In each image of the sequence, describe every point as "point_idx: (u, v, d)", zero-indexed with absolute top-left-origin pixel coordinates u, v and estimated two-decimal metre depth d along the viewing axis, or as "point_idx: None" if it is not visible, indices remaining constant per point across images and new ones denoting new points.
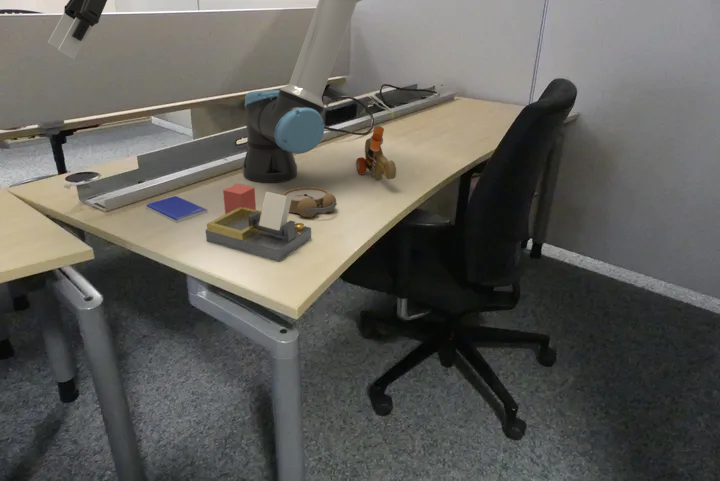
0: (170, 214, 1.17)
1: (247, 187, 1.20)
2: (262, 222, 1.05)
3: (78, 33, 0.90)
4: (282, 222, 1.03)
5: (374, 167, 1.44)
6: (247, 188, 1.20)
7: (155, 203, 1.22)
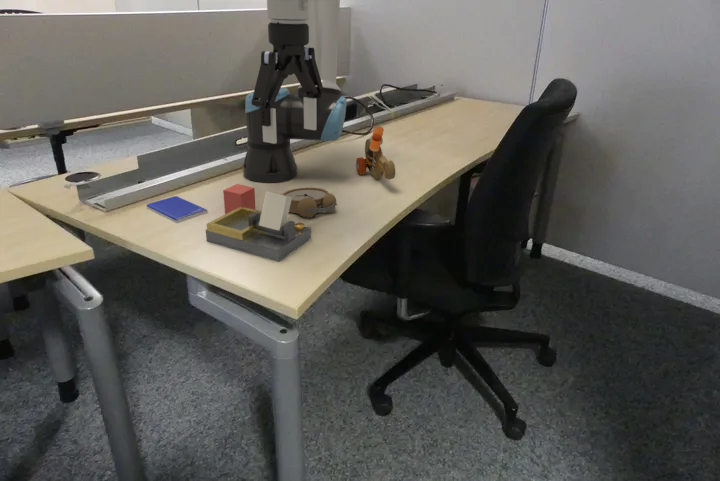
0: (170, 214, 1.17)
1: (247, 187, 1.20)
2: (262, 222, 1.05)
3: None
4: (282, 222, 1.03)
5: (374, 167, 1.44)
6: (247, 188, 1.20)
7: (155, 203, 1.22)
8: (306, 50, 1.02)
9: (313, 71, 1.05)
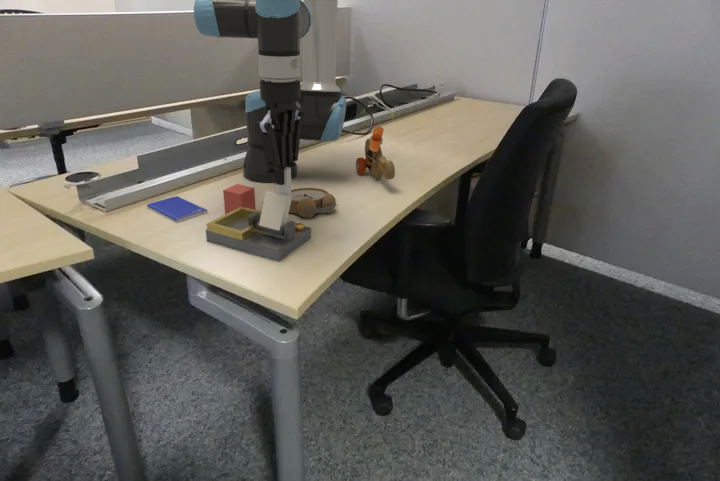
0: (170, 215, 1.17)
1: (247, 187, 1.20)
2: (262, 222, 1.05)
3: None
4: (282, 222, 1.03)
5: (373, 167, 1.44)
6: (247, 188, 1.20)
7: (156, 203, 1.22)
8: (297, 111, 1.03)
9: (296, 133, 1.03)
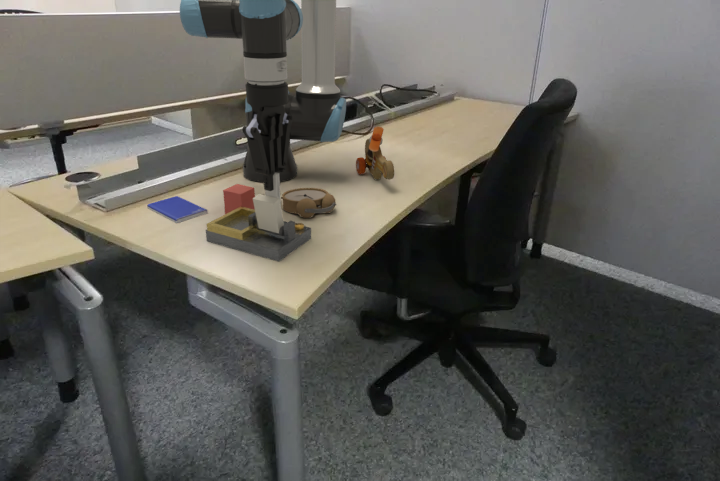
0: (170, 215, 1.17)
1: (247, 187, 1.20)
2: (261, 225, 1.04)
3: None
4: (279, 225, 1.03)
5: (373, 167, 1.44)
6: (247, 188, 1.20)
7: (156, 203, 1.22)
8: (285, 114, 0.99)
9: (284, 138, 1.00)
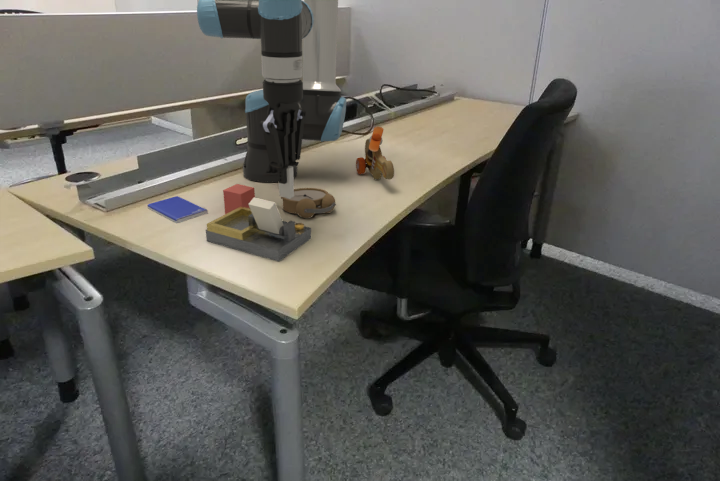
0: (170, 215, 1.17)
1: (247, 187, 1.20)
2: (260, 227, 1.04)
3: None
4: (278, 226, 1.02)
5: (373, 167, 1.44)
6: (247, 188, 1.20)
7: (156, 203, 1.22)
8: (299, 110, 1.04)
9: (298, 133, 1.05)
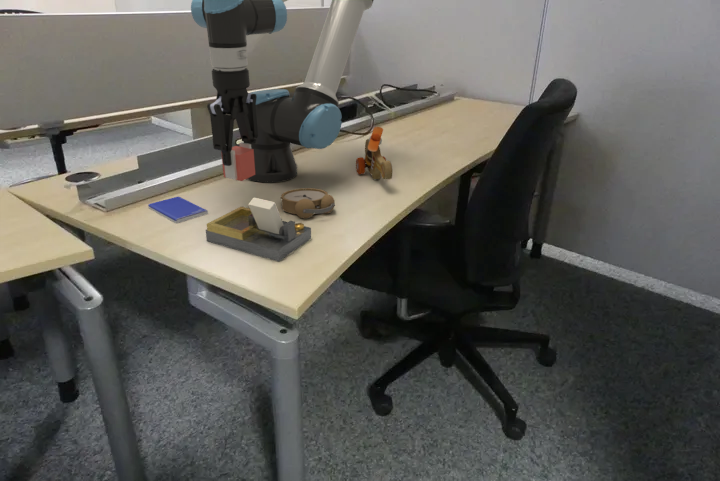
0: (170, 215, 1.17)
1: (246, 149, 1.16)
2: (260, 227, 1.04)
3: None
4: (278, 226, 1.02)
5: (372, 167, 1.44)
6: (246, 149, 1.16)
7: (157, 203, 1.23)
8: (249, 94, 1.14)
9: (251, 115, 1.16)
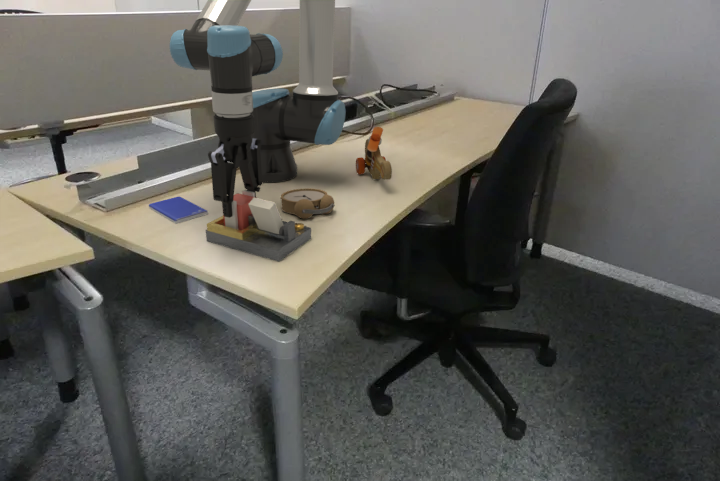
0: (170, 215, 1.16)
1: (249, 197, 1.07)
2: (260, 227, 1.04)
3: None
4: (278, 226, 1.02)
5: (372, 167, 1.44)
6: (249, 198, 1.07)
7: (157, 203, 1.22)
8: (253, 140, 1.05)
9: (256, 161, 1.07)
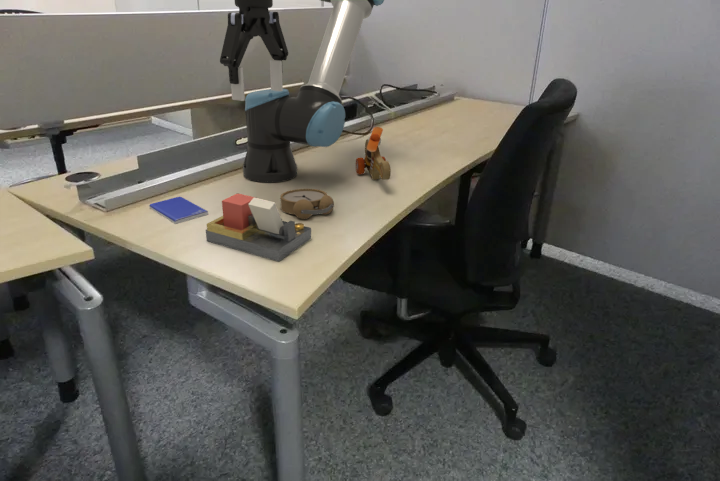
0: (170, 215, 1.16)
1: (249, 197, 1.07)
2: (260, 227, 1.04)
3: None
4: (278, 226, 1.02)
5: (372, 167, 1.44)
6: (249, 198, 1.07)
7: (158, 203, 1.22)
8: (270, 14, 1.09)
9: (278, 34, 1.12)
